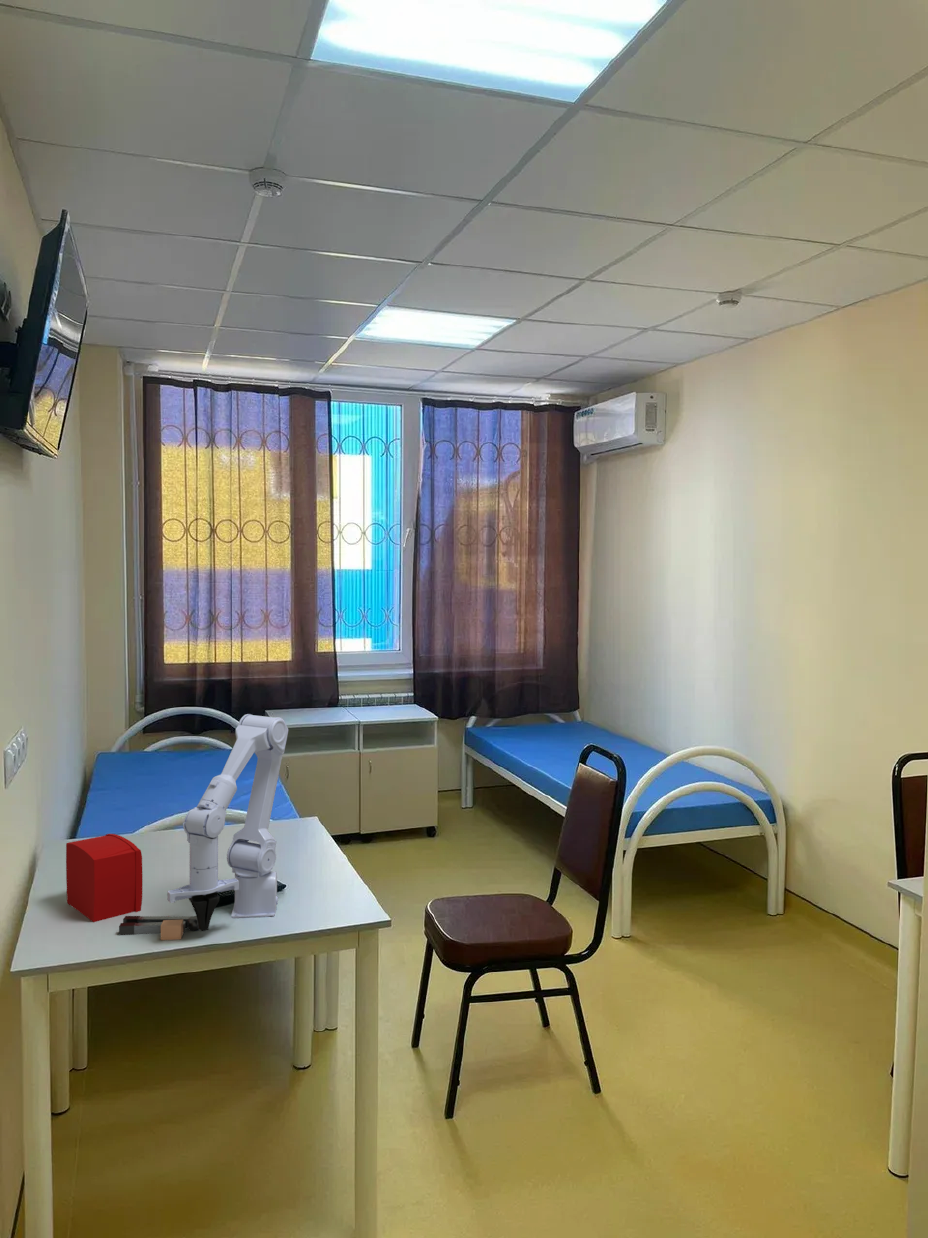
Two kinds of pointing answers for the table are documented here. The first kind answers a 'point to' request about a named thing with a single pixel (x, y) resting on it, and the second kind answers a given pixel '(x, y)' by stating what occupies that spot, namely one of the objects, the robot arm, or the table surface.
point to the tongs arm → (190, 920)
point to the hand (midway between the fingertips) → (203, 929)
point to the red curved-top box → (104, 876)
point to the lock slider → (171, 929)
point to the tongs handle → (142, 928)
